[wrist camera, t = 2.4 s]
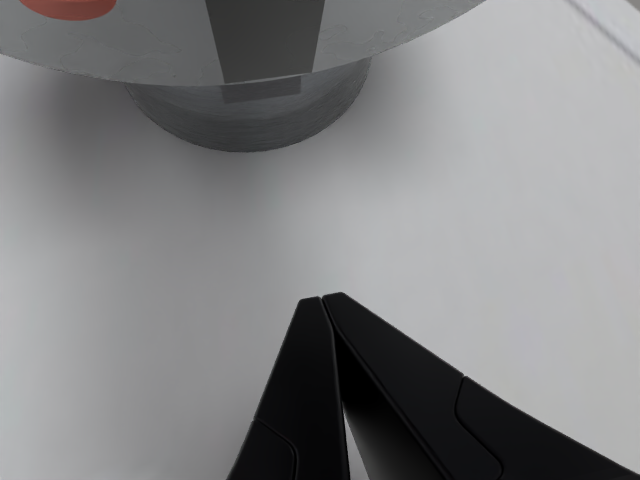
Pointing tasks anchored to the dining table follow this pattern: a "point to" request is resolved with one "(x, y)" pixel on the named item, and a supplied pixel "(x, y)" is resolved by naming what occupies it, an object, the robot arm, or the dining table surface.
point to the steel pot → (253, 108)
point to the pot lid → (211, 36)
